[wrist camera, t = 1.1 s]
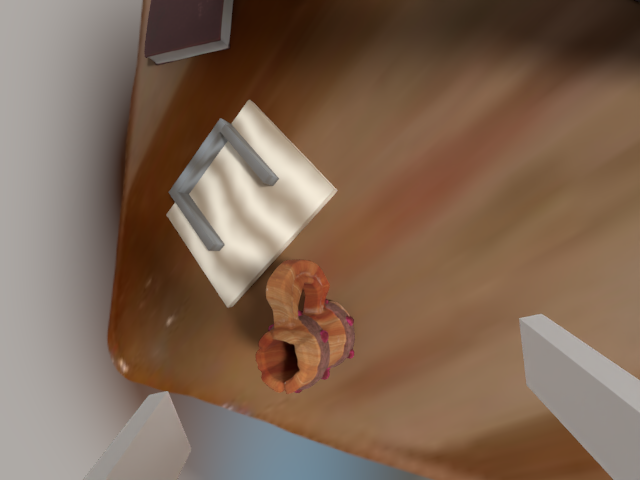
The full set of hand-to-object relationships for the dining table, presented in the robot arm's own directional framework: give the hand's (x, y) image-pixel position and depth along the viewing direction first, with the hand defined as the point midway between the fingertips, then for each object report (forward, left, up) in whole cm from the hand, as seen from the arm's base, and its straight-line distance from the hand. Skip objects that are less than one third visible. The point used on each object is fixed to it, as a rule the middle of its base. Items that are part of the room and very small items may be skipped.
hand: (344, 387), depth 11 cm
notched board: (+13, -30, -30) cm, 44 cm away
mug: (+12, -7, -30) cm, 33 cm away
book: (-2, -64, -31) cm, 71 cm away
